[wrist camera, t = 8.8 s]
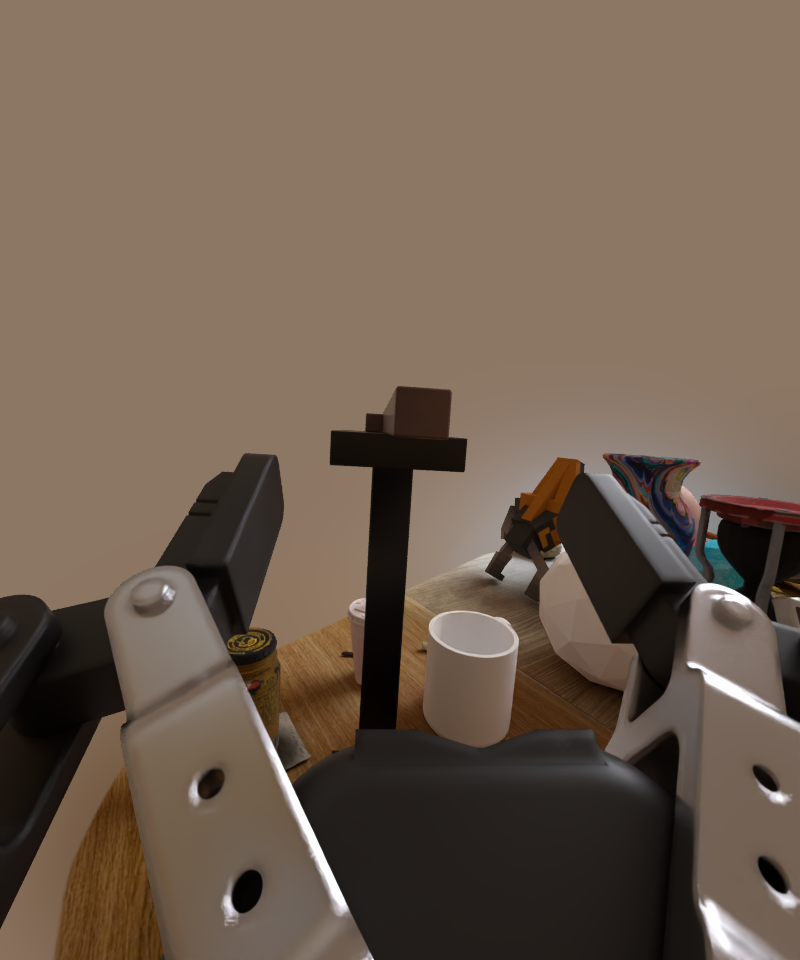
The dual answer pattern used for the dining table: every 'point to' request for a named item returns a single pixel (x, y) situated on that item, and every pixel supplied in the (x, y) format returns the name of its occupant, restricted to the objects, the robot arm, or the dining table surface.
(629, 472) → the vase
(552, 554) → the decorative item
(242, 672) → the condiment
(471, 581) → the dining table surface
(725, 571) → the crystal
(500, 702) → the mug
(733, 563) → the hourglass
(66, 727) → the robot arm
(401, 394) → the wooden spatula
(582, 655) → the geometric sculpture
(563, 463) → the toy robot
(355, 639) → the smoothie
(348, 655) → the stick
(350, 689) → the dining table surface
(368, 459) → the black pedestal stand
